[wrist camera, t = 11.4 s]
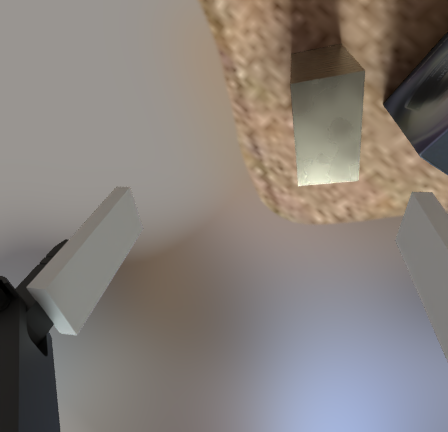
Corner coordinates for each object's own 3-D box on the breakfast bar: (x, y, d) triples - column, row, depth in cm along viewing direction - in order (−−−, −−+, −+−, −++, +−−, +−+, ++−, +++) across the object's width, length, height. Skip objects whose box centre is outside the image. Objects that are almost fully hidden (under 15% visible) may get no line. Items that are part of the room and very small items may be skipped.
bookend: (291, 54, 25) (290, 83, 17) (341, 43, 24) (365, 70, 16) (296, 132, 29) (298, 185, 21) (340, 127, 28) (358, 180, 20)
